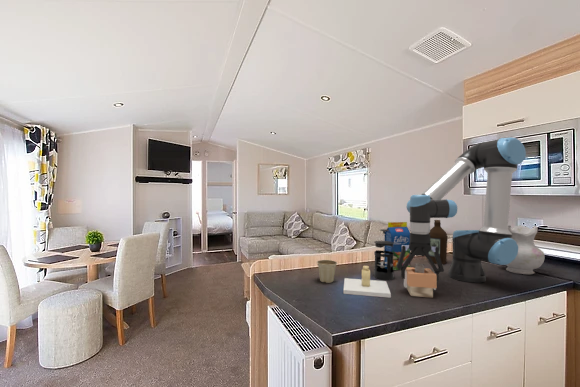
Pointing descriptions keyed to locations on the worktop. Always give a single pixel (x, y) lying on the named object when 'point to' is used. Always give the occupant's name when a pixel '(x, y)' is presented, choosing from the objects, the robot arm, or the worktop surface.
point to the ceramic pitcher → (525, 251)
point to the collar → (421, 278)
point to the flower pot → (326, 270)
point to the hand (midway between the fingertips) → (419, 287)
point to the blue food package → (397, 241)
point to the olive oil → (438, 242)
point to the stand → (420, 290)
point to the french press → (383, 272)
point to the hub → (366, 286)
